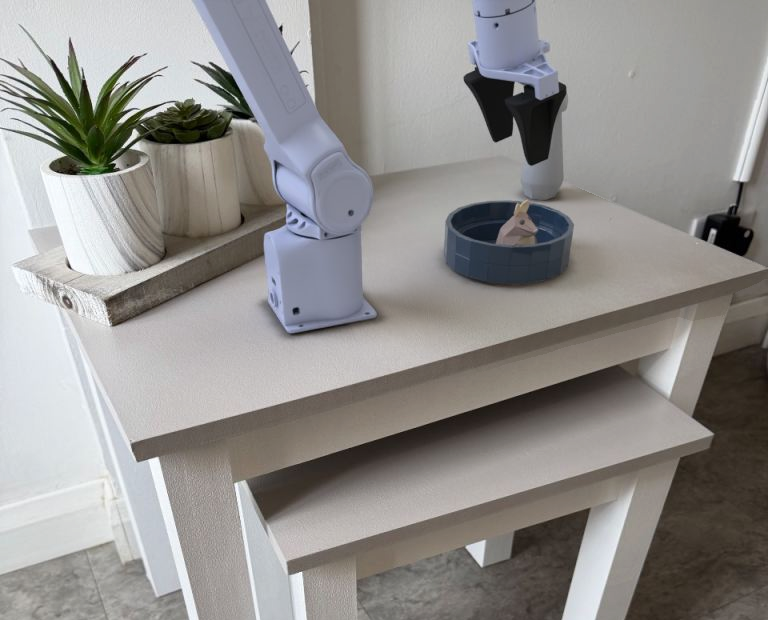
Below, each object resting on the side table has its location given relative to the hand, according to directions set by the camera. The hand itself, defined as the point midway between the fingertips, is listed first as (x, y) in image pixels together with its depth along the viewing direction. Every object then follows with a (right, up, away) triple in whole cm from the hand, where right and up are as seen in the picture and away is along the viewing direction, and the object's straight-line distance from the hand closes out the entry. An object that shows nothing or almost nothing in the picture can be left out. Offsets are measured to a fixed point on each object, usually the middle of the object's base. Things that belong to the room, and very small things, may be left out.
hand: (519, 149), depth 83 cm
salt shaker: (+7, +5, +26) cm, 27 cm away
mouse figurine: (0, -9, +8) cm, 12 cm away
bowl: (0, -9, +8) cm, 12 cm away
